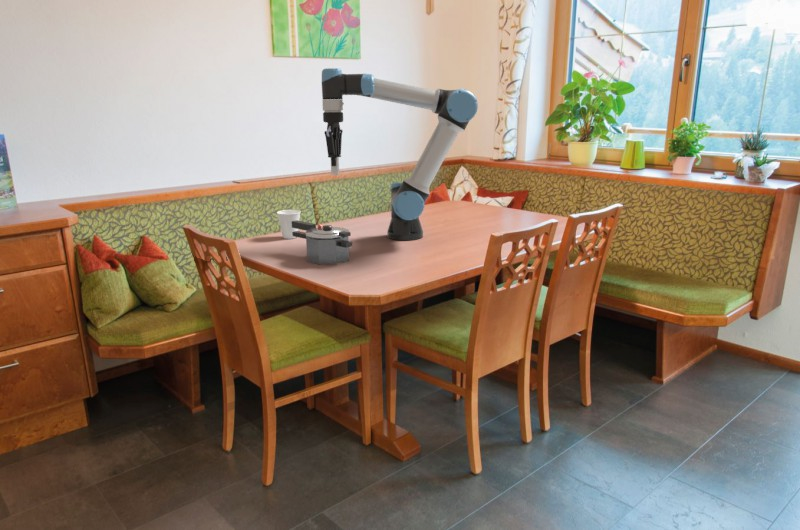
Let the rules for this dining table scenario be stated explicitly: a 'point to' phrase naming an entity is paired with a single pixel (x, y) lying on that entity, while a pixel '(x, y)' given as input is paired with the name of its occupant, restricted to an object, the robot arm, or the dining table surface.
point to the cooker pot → (326, 249)
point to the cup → (288, 222)
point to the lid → (321, 230)
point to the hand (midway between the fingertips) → (335, 174)
